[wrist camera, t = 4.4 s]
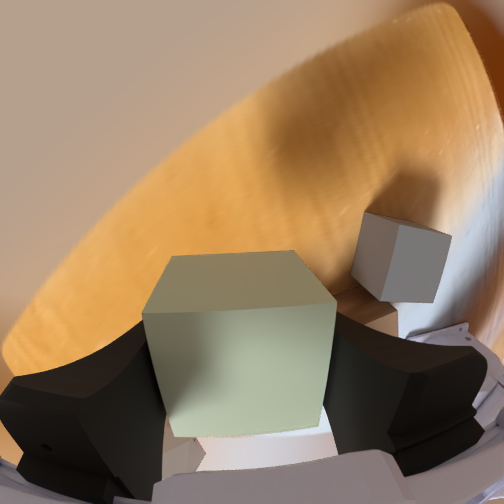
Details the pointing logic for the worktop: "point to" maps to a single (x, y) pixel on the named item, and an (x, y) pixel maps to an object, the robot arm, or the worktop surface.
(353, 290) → the walnut block
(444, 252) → the charcoal block
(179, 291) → the sage block
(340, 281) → the worktop surface
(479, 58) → the worktop surface
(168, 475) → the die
